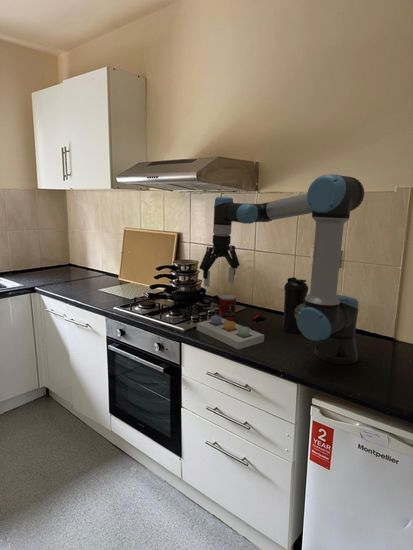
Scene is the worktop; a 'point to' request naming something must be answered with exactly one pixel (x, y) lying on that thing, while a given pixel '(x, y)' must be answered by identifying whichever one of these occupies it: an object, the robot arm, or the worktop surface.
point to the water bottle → (293, 303)
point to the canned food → (227, 307)
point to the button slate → (216, 320)
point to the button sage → (244, 332)
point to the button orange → (229, 326)
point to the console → (230, 334)
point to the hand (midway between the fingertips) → (219, 284)
